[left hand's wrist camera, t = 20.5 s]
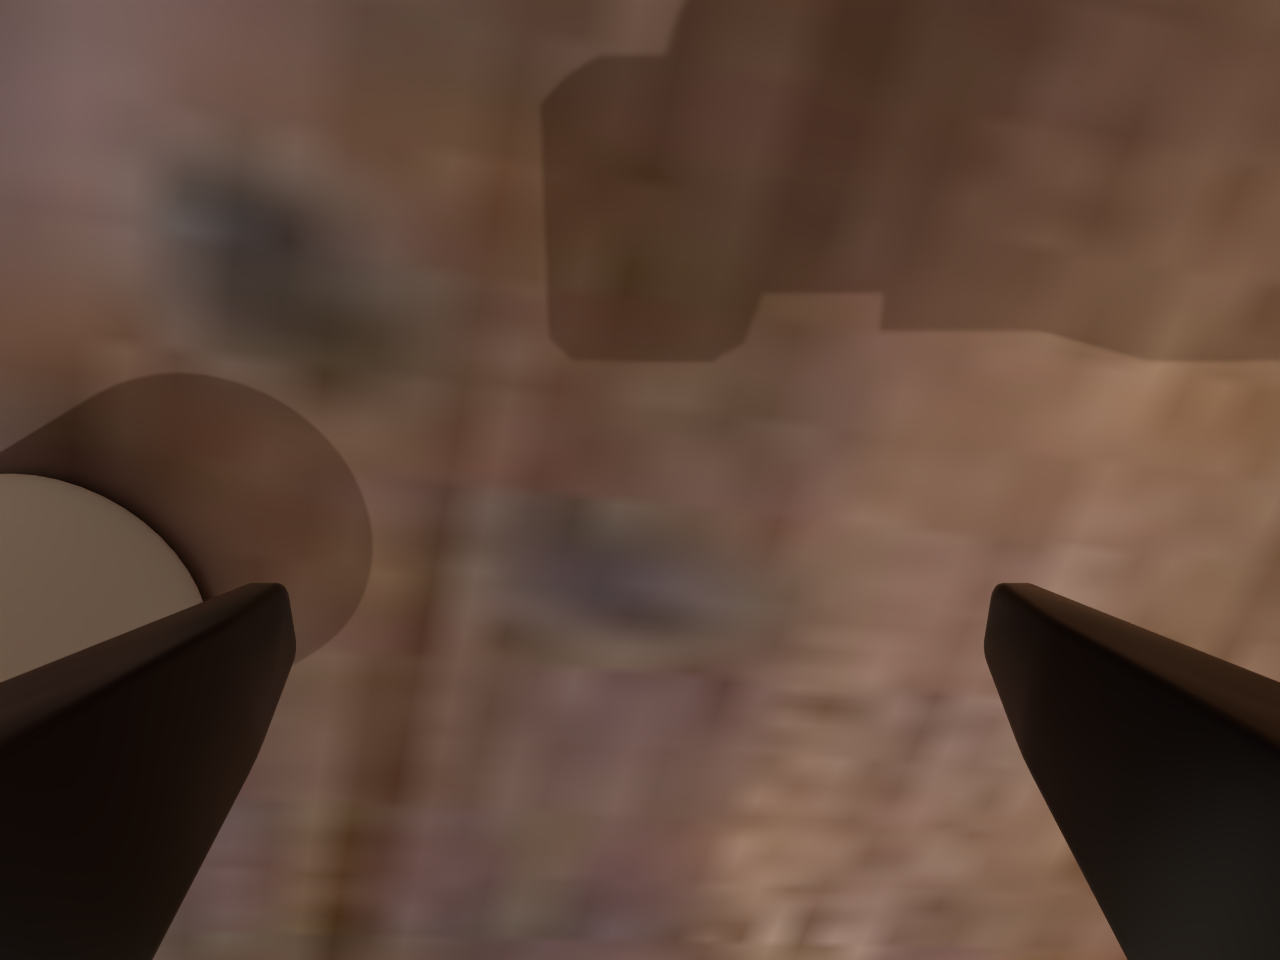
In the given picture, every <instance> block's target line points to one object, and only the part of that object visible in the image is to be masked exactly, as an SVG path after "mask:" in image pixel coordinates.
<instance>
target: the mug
mask: <svg viewBox="0 0 1280 960" xmlns="http://www.w3.org/2000/svg"><path fill="white" fill-rule="evenodd" d="M202 602H203V600H202V598H201V595H200V593H199V590H198V588H197V586H196V584H195V583H194V581H193V579H192V577H191V575H190V573H189V572H188V570H187V569H186V567H185V566H184V564H183V563H182V562H181V560H180V559H179V558H178V556H177V555H176V553H175V552H174V551H173V550H172V549H171V548H170V547H169V546H168V545H167V543H166V542H165V541H164V540H163V539H162V538H161V537H160V536H159V535H158V534H157V533H155V532H154V531H153V530H152V529H151V528H150V527H149V526H148V525H146V524H145V523H144V522H143V521H142V520H140V519H139V518H137V517H136V516H135V515H133V514H132V513H130V512H129V511H128V510H126V509H125V508H123V507H121V506H119V505H118V504H116V503H114V502H112V501H110V500H109V499H107V498H105V497H103V496H101V495H98V494H96V493H94V492H91V491H89V490H87V489H85V488H82V487H79V486H76V485H73V484H70V483H67V482H64V481H60V480H57V479H52V478H47V477H41V476H36V475H25V474H13V473H12V474H0V682H3V681H5V680H8V679H10V678H13V677H15V676H18V675H20V674H23V673H25V672H28V671H30V670H33V669H35V668H38V667H40V666H43V665H46V664H48V663H51V662H53V661H56V660H58V659H61V658H63V657H66V656H68V655H71V654H73V653H76V652H78V651H81V650H83V649H86V648H88V647H91V646H93V645H96V644H98V643H101V642H103V641H106V640H109V639H111V638H114V637H116V636H119V635H121V634H124V633H126V632H129V631H131V630H134V629H136V628H139V627H141V626H144V625H146V624H149V623H151V622H154V621H156V620H159V619H161V618H164V617H166V616H169V615H172V614H174V613H177V612H179V611H182V610H184V609H187V608H189V607H192V606H194V605H197V604H199V603H202Z"/></svg>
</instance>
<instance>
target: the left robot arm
mask: <svg viewBox="0 0 1280 960" xmlns="http://www.w3.org/2000/svg"><path fill="white" fill-rule="evenodd" d="M295 653H296V639H295V632H294V626H293V620H292V613H291V607H290V601H289V595H288V592H287V590H286V588H285V587H284V586H283V585H282V584H279V583H251V584H247V585H245V586H242V587H240V588H237V589H235V590H232V591H229V592H227V593H224V594H222V595H219V596H217V597H214V598H212V599H209V600H207V601H204V602H202V603H199V604H197V605H194V606H192V607H189V608H187V609H184V610H182V611H179V612H177V613H174V614H172V615H169V616H166V617H164V618H161V619H159V620H156V621H154V622H151V623H149V624H146V625H144V626H141V627H139V628H136V629H134V630H131V631H129V632H126V633H124V634H121V635H119V636H116V637H114V638H111V639H109V640H106V641H103V642H101V643H98V644H96V645H93V646H91V647H88V648H86V649H83V650H81V651H78V652H76V653H73V654H71V655H68V656H66V657H63V658H61V659H58V660H56V661H53V662H51V663H48V664H46V665H43V666H40V667H38V668H35V669H33V670H30V671H28V672H25V673H23V674H20V675H18V676H15V677H13V678H10V679H8V680H5V681H3V682H0V960H152V959H153V957H154V955H155V954H156V952H157V950H158V948H159V946H160V944H161V942H162V940H163V938H164V936H165V934H166V932H167V930H168V929H169V927H170V925H171V923H172V921H173V919H174V917H175V915H176V913H177V911H178V909H179V907H180V905H181V903H182V902H183V900H184V898H185V896H186V894H187V892H188V890H189V888H190V886H191V884H192V882H193V880H194V878H195V877H196V875H197V873H198V871H199V869H200V867H201V865H202V863H203V861H204V859H205V857H206V855H207V853H208V851H209V850H210V848H211V846H212V844H213V842H214V840H215V838H216V836H217V834H218V832H219V830H220V828H221V826H222V825H223V823H224V821H225V819H226V817H227V815H228V813H229V811H230V809H231V807H232V805H233V803H234V801H235V799H236V798H237V796H238V794H239V792H240V790H241V788H242V786H243V784H244V782H245V780H246V778H247V776H248V774H249V772H250V770H251V768H252V766H253V764H254V762H255V760H256V758H257V756H258V753H259V751H260V749H261V746H262V744H263V741H264V739H265V736H266V733H267V731H268V728H269V725H270V723H271V720H272V717H273V715H274V712H275V709H276V707H277V704H278V701H279V699H280V696H281V693H282V691H283V688H284V685H285V683H286V680H287V677H288V675H289V672H290V669H291V667H292V664H293V661H294V658H295ZM984 653H985V658H986V661H987V664H988V667H989V669H990V672H991V675H992V677H993V680H994V683H995V685H996V688H997V691H998V693H999V696H1000V699H1001V701H1002V704H1003V707H1004V709H1005V712H1006V715H1007V717H1008V720H1009V723H1010V725H1011V728H1012V731H1013V733H1014V736H1015V739H1016V741H1017V744H1018V746H1019V749H1020V751H1021V753H1022V756H1023V758H1024V760H1025V762H1026V764H1027V766H1028V768H1029V770H1030V772H1031V774H1032V776H1033V778H1034V780H1035V782H1036V784H1037V786H1038V788H1039V790H1040V792H1041V794H1042V796H1043V798H1044V800H1045V801H1046V803H1047V805H1048V807H1049V809H1050V811H1051V813H1052V815H1053V817H1054V819H1055V821H1056V823H1057V825H1058V826H1059V828H1060V830H1061V832H1062V834H1063V836H1064V838H1065V840H1066V842H1067V844H1068V846H1069V848H1070V850H1071V852H1072V853H1073V855H1074V857H1075V859H1076V861H1077V863H1078V865H1079V867H1080V869H1081V871H1082V873H1083V875H1084V877H1085V878H1086V880H1087V882H1088V884H1089V886H1090V888H1091V890H1092V892H1093V894H1094V896H1095V898H1096V900H1097V902H1098V904H1099V905H1100V907H1101V909H1102V911H1103V913H1104V915H1105V917H1106V919H1107V921H1108V923H1109V925H1110V927H1111V929H1112V930H1113V932H1114V934H1115V936H1116V938H1117V940H1118V942H1119V944H1120V946H1121V948H1122V950H1123V952H1124V954H1125V956H1126V957H1127V959H1128V960H1280V682H1277V681H1275V680H1272V679H1270V678H1267V677H1265V676H1262V675H1260V674H1257V673H1255V672H1252V671H1250V670H1247V669H1245V668H1242V667H1240V666H1237V665H1234V664H1232V663H1229V662H1227V661H1224V660H1222V659H1219V658H1217V657H1214V656H1212V655H1209V654H1207V653H1204V652H1202V651H1199V650H1197V649H1194V648H1192V647H1189V646H1187V645H1184V644H1182V643H1179V642H1177V641H1174V640H1171V639H1169V638H1166V637H1164V636H1161V635H1159V634H1156V633H1154V632H1151V631H1149V630H1146V629H1144V628H1141V627H1139V626H1136V625H1134V624H1131V623H1129V622H1126V621H1124V620H1121V619H1119V618H1116V617H1114V616H1111V615H1108V614H1106V613H1103V612H1101V611H1098V610H1096V609H1093V608H1091V607H1088V606H1086V605H1083V604H1081V603H1078V602H1076V601H1073V600H1071V599H1068V598H1066V597H1063V596H1061V595H1058V594H1056V593H1053V592H1051V591H1048V590H1045V589H1043V588H1040V587H1038V586H1035V585H1033V584H1029V583H1001V584H998V585H997V586H996V587H995V588H994V590H993V592H992V595H991V601H990V607H989V613H988V620H987V626H986V632H985V639H984Z"/></svg>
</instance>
